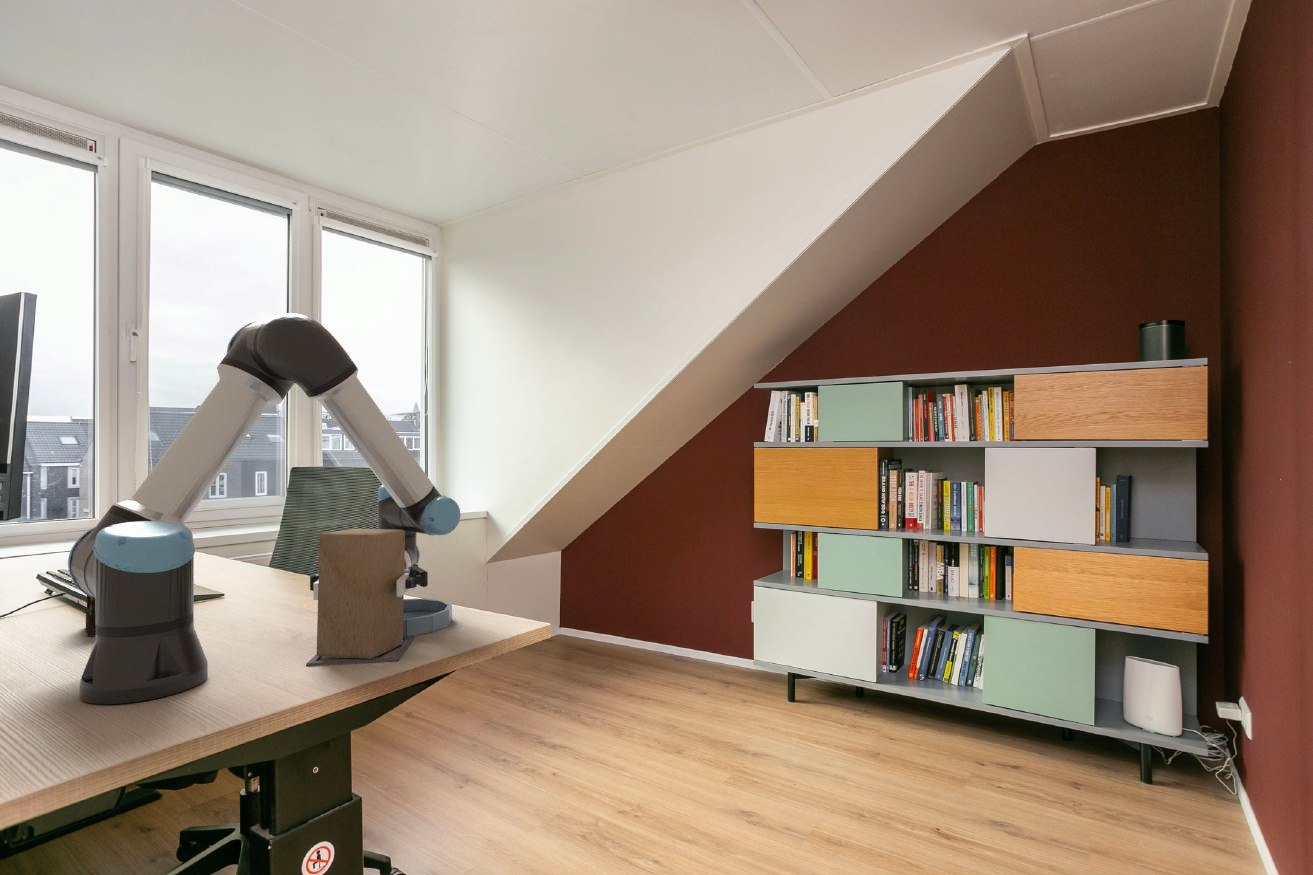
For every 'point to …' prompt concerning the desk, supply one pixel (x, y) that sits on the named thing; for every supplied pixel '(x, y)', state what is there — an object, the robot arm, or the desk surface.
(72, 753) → the desk surface
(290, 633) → the desk surface
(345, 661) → the dark grey square frame
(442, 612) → the dish
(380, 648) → the wooden block
